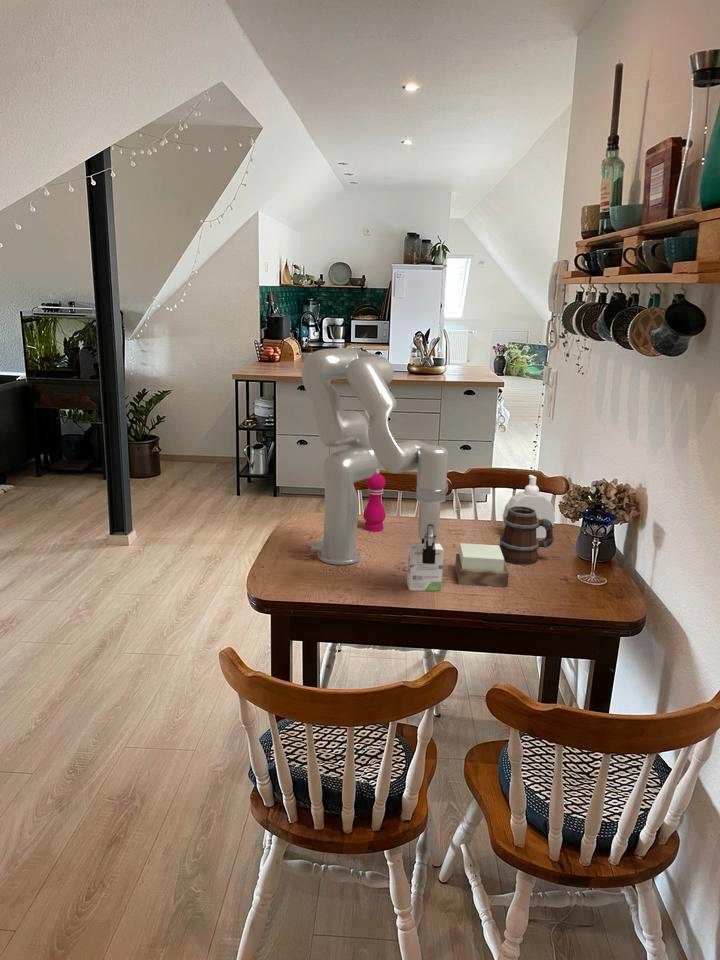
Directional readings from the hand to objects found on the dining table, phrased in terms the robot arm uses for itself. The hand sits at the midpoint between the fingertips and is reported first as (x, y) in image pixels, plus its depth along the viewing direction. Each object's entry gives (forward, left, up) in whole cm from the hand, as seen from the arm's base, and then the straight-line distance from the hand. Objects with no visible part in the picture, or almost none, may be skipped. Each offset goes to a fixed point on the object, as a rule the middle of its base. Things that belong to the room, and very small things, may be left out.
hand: (427, 556), depth 193 cm
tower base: (+16, +10, -9) cm, 21 cm away
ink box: (-1, 0, -9) cm, 9 cm away
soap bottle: (+34, +48, -9) cm, 60 cm away
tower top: (+15, +11, -5) cm, 19 cm away
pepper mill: (-16, +46, -9) cm, 50 cm away
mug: (+30, +27, -9) cm, 42 cm away
